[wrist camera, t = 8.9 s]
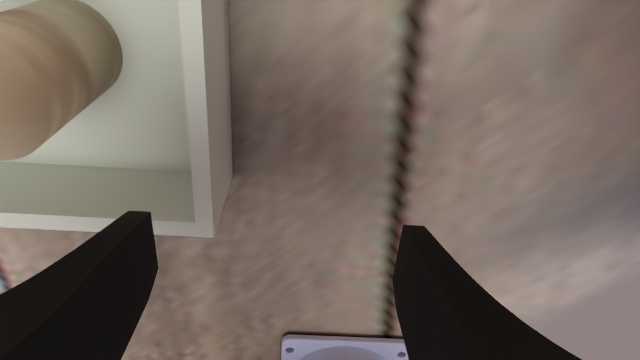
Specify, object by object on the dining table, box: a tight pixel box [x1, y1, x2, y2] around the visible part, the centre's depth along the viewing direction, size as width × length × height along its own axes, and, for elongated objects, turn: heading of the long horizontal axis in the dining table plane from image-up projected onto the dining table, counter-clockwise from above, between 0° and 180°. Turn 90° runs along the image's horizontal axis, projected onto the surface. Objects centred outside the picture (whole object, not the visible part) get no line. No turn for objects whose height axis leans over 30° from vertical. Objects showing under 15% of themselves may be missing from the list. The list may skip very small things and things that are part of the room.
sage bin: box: [0, 0, 233, 238], centre depth 17 cm, size 12×12×5 cm
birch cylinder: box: [0, 0, 123, 161], centre depth 16 cm, size 4×4×6 cm
